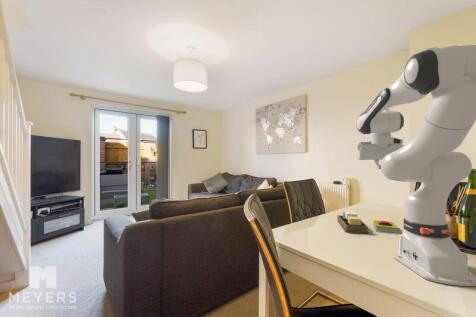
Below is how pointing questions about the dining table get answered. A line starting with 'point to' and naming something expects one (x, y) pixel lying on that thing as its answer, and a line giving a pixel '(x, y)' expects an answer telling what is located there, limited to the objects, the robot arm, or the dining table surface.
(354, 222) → the yellow block
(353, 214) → the white block
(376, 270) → the dining table surface
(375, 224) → the emergency button
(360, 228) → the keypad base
